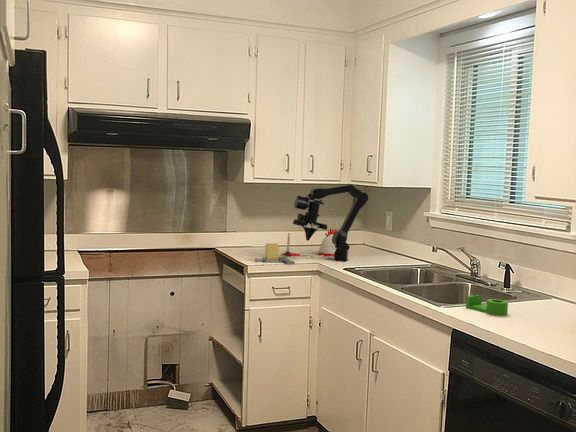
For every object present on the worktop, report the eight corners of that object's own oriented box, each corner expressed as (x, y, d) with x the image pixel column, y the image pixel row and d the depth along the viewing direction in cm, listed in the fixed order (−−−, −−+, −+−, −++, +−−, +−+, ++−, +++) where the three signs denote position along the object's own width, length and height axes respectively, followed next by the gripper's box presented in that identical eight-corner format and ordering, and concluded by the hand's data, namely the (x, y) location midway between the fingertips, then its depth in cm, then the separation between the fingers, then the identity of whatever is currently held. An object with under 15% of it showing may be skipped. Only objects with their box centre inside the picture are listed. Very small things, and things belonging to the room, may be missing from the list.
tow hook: (289, 254, 360) (280, 255, 353) (291, 232, 360) (281, 232, 352) (302, 256, 356) (292, 257, 348) (303, 233, 355) (294, 233, 347)
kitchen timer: (347, 256, 358) (348, 229, 357) (326, 257, 352) (327, 230, 351) (334, 252, 370) (335, 227, 369) (314, 253, 364) (315, 227, 363)
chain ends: (287, 259, 337) (287, 257, 337) (294, 264, 323) (294, 261, 323) (254, 260, 332) (254, 257, 332) (260, 264, 318) (260, 261, 318)
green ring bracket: (511, 315, 225) (512, 302, 225) (498, 317, 221) (498, 304, 221) (478, 306, 238) (478, 294, 238) (465, 308, 234) (465, 296, 234)
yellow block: (276, 260, 333) (276, 243, 332) (278, 261, 329) (278, 244, 328) (265, 260, 331) (265, 243, 330) (266, 261, 327) (267, 244, 327)
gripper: (318, 212, 346) (313, 240, 347) (290, 207, 336) (284, 235, 337) (330, 214, 336) (324, 243, 337) (301, 209, 327) (295, 239, 327)
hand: (307, 240), depth 335 cm, fingers closed
